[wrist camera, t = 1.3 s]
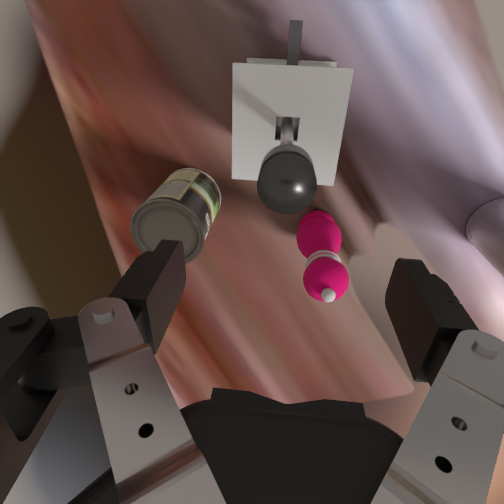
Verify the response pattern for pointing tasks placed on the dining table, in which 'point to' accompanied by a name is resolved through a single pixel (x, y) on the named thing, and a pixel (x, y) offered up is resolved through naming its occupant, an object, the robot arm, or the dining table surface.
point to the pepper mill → (322, 256)
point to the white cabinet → (288, 109)
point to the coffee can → (178, 212)
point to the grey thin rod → (287, 172)
